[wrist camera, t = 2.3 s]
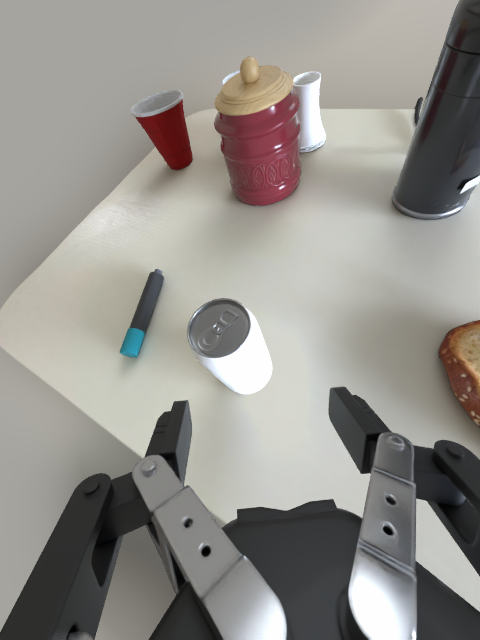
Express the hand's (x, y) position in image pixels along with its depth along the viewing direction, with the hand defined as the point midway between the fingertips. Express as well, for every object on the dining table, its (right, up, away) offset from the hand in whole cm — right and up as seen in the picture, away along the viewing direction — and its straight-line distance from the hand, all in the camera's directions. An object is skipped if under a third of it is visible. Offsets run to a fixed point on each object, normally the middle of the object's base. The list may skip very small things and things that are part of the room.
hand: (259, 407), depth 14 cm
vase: (+12, +41, +37) cm, 57 cm away
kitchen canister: (+4, +31, +34) cm, 46 cm away
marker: (-15, +6, +25) cm, 30 cm away
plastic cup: (-15, +42, +45) cm, 63 cm away
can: (0, -1, +18) cm, 18 cm away
